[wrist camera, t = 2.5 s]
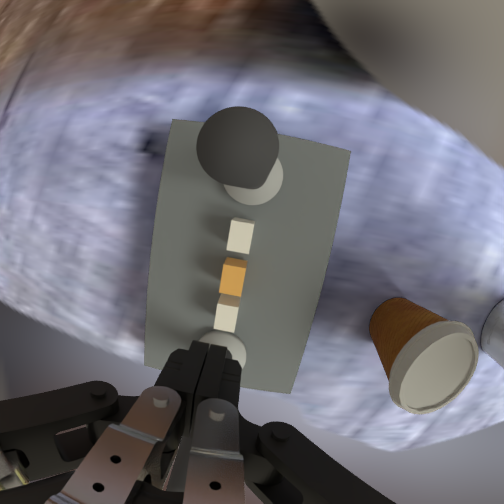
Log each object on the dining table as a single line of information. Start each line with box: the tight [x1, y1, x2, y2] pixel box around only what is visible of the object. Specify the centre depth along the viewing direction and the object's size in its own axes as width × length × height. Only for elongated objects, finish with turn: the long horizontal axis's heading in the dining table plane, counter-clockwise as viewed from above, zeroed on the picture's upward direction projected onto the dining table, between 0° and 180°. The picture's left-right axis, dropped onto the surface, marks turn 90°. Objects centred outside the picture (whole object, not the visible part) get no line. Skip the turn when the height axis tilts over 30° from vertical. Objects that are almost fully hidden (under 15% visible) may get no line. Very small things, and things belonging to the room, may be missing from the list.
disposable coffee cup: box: [369, 298, 478, 414], centre depth 26 cm, size 10×10×12 cm
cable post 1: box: [196, 107, 283, 205], centre depth 16 cm, size 5×5×17 cm
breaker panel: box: [144, 119, 351, 394], centre depth 27 cm, size 16×25×7 cm, turn 169°
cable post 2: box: [166, 330, 246, 492], centre depth 20 cm, size 5×5×17 cm
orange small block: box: [219, 257, 247, 297], centre depth 25 cm, size 2×2×3 cm
